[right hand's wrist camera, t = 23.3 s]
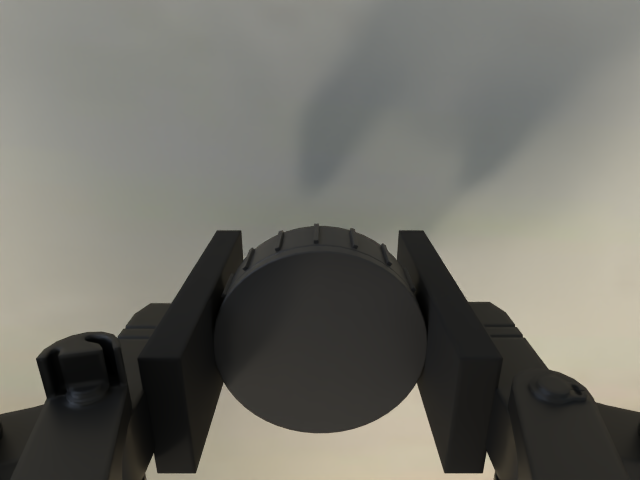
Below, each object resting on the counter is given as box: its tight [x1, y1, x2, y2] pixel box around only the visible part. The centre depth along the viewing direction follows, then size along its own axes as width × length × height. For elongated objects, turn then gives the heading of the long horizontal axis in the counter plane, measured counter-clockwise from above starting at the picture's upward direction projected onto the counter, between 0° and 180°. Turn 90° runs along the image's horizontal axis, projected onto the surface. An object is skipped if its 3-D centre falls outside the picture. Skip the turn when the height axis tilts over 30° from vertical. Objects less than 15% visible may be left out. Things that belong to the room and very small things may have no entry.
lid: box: [213, 224, 427, 433], centre depth 11 cm, size 5×5×2 cm
